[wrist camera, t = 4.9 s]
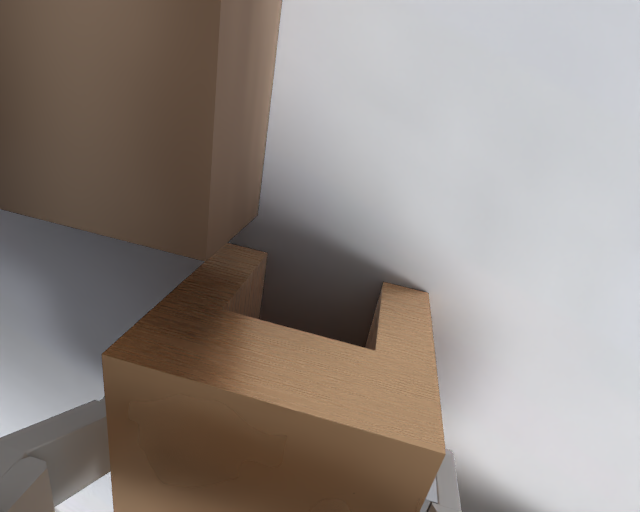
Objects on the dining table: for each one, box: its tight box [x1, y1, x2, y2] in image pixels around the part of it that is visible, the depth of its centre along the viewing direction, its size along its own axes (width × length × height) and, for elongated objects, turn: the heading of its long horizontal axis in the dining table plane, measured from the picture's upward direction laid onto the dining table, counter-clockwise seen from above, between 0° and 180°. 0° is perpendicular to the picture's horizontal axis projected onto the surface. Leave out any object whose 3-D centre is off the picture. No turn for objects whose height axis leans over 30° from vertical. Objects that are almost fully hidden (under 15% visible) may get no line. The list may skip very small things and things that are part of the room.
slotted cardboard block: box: [102, 243, 446, 512], centre depth 10 cm, size 6×8×5 cm
